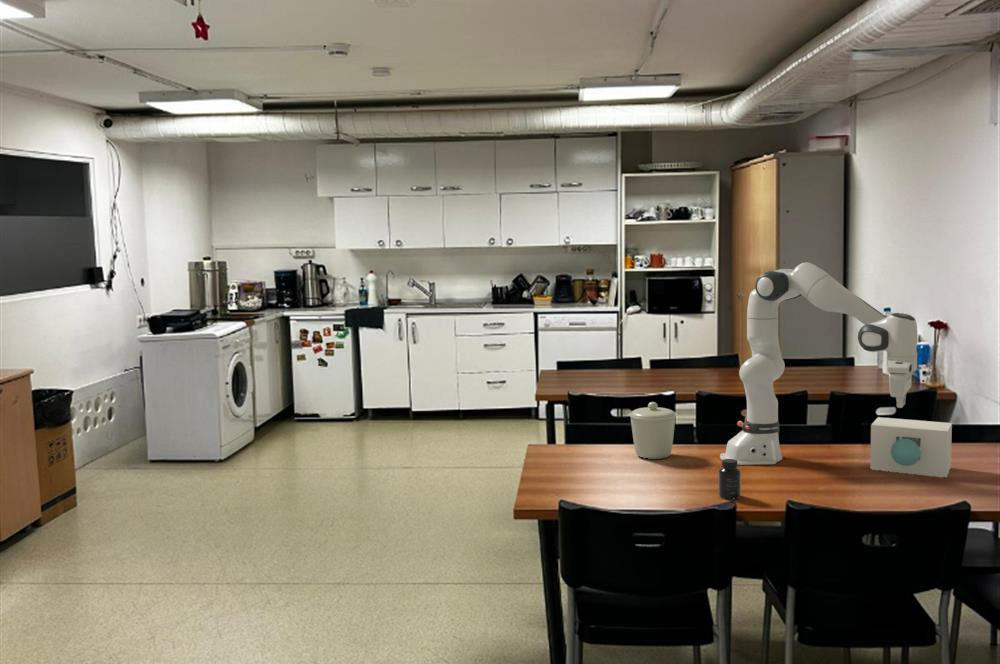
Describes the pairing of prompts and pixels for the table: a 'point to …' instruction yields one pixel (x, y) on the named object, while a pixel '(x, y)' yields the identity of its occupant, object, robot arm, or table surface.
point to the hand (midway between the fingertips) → (900, 406)
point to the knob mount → (931, 446)
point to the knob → (906, 451)
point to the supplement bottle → (729, 479)
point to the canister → (653, 431)
